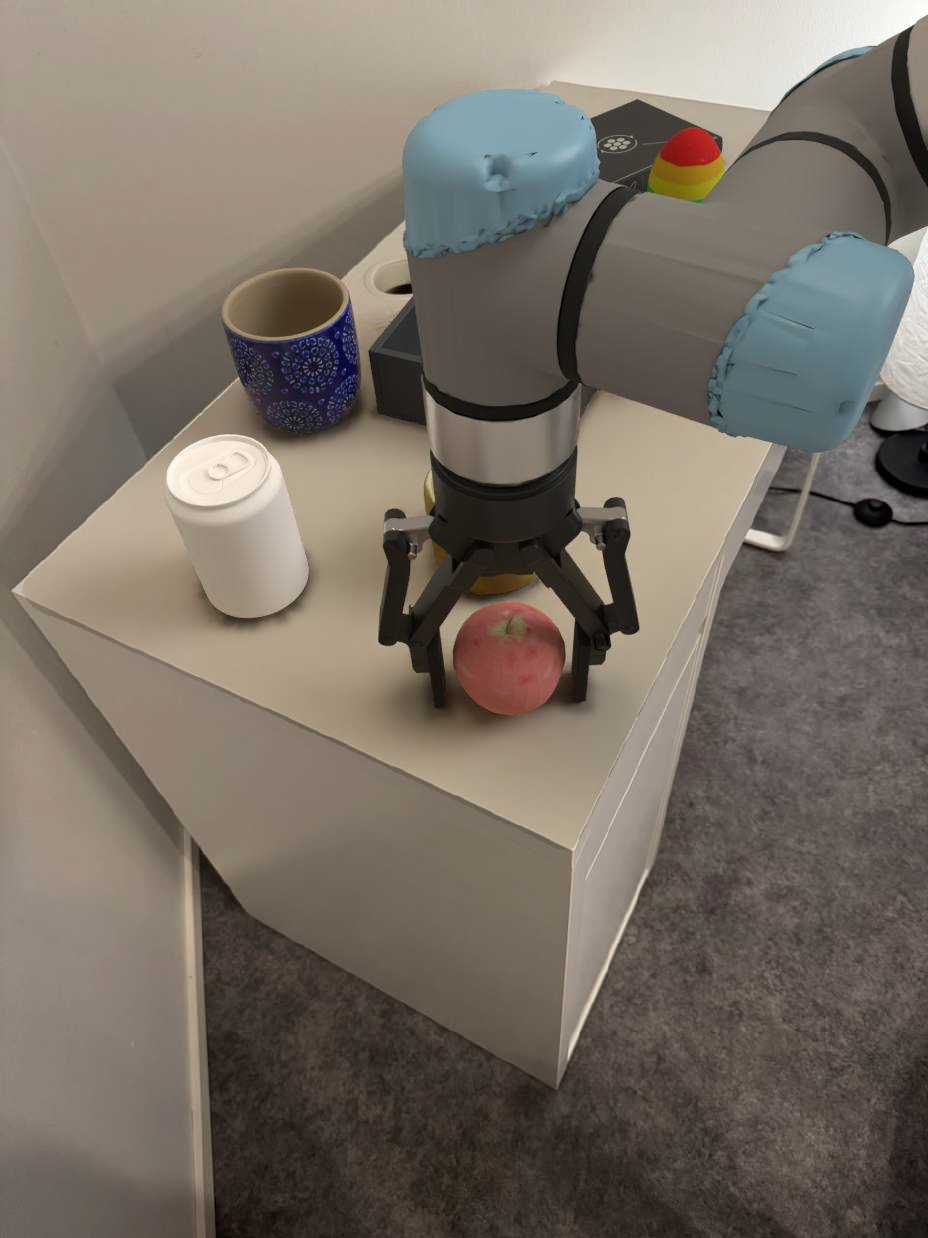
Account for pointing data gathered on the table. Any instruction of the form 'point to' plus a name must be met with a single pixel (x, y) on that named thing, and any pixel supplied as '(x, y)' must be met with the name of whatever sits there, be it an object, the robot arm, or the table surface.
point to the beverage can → (237, 525)
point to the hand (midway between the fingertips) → (509, 688)
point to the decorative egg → (687, 166)
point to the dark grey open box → (408, 369)
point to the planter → (295, 347)
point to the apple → (509, 657)
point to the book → (635, 141)
